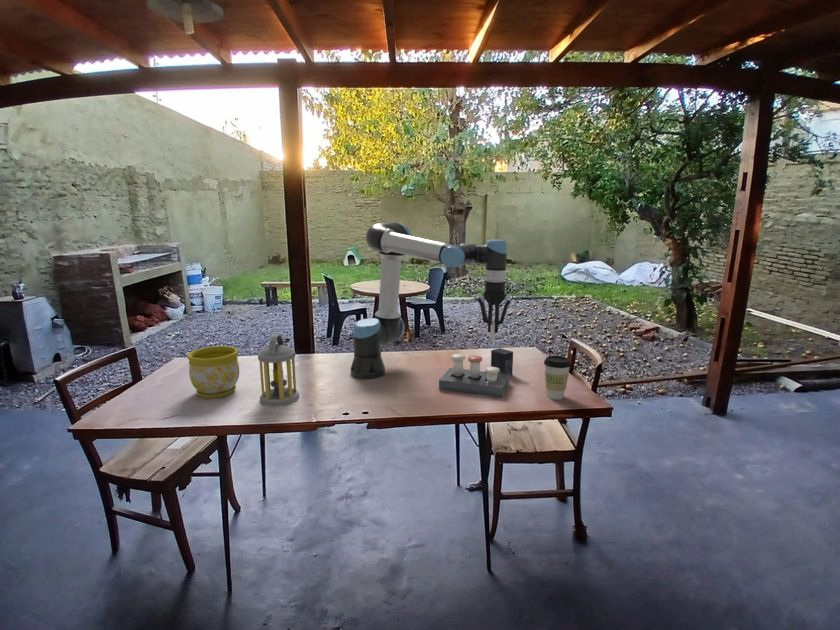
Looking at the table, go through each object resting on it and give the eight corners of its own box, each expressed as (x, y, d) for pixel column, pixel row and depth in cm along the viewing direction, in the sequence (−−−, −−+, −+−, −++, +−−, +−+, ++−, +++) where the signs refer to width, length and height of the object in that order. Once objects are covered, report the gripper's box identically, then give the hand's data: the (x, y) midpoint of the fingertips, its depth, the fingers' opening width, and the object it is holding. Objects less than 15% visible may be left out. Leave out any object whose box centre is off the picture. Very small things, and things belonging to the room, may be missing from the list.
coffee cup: (536, 394, 183) (538, 356, 180) (557, 390, 187) (559, 353, 184) (553, 403, 174) (555, 364, 171) (574, 399, 178) (577, 361, 175)
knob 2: (483, 389, 187) (483, 370, 185) (486, 384, 192) (486, 366, 191) (497, 391, 185) (497, 372, 184) (499, 386, 190) (500, 367, 189)
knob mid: (466, 378, 189) (466, 358, 187) (469, 373, 194) (470, 355, 192) (480, 379, 187) (480, 360, 185) (483, 375, 192) (483, 356, 190)
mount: (438, 389, 188) (439, 380, 187) (450, 376, 203) (450, 367, 202) (501, 397, 180) (502, 387, 179) (508, 383, 194) (509, 374, 194)
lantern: (267, 391, 186) (263, 329, 181) (303, 391, 186) (300, 330, 180) (254, 405, 172) (248, 339, 167) (292, 406, 172) (288, 339, 167)
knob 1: (449, 376, 191) (449, 357, 189) (453, 371, 196) (453, 353, 194) (462, 377, 189) (463, 358, 187) (466, 373, 194) (466, 354, 193)
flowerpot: (218, 404, 174) (214, 361, 170) (180, 397, 180) (175, 356, 177) (251, 387, 190) (248, 348, 187) (215, 382, 197) (212, 343, 193)
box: (512, 374, 205) (513, 351, 203) (503, 377, 202) (504, 353, 199) (498, 370, 211) (499, 347, 209) (490, 373, 207) (490, 349, 205)
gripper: (476, 281, 178) (474, 341, 184) (510, 283, 174) (507, 344, 179) (480, 278, 185) (478, 336, 190) (514, 280, 181) (510, 339, 186)
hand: (492, 340), depth 185 cm, fingers closed
